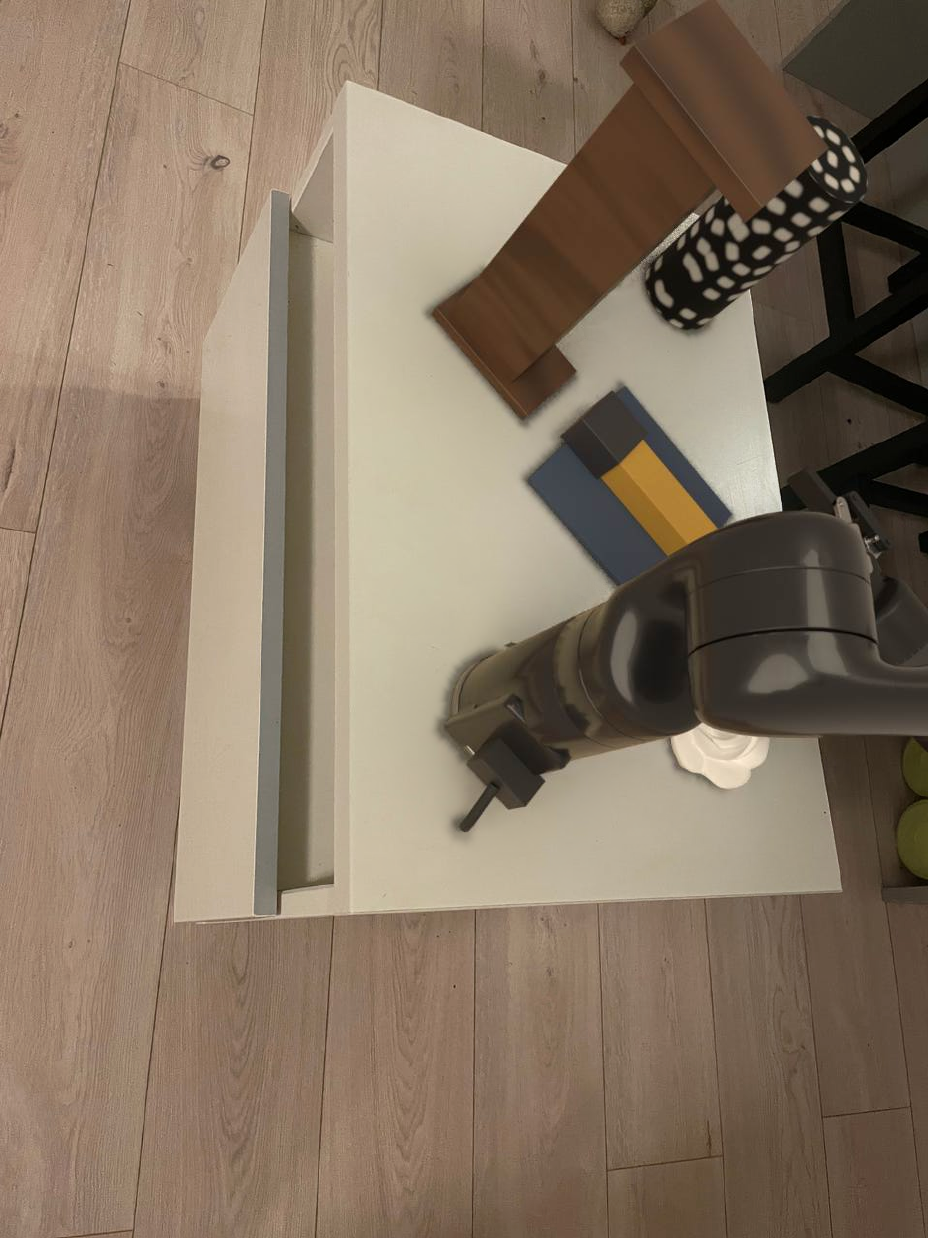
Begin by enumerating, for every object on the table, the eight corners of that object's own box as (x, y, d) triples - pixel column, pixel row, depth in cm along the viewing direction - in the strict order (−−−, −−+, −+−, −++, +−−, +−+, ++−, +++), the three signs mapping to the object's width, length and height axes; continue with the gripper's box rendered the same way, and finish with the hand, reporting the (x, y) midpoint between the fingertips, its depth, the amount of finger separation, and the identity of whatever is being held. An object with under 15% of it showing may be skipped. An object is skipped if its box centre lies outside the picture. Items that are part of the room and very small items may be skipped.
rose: (801, 774, 78) (717, 794, 74) (763, 780, 82) (681, 799, 78) (770, 660, 80) (686, 672, 76) (734, 671, 84) (652, 683, 79)
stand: (515, 426, 80) (762, 207, 55) (423, 318, 79) (633, 43, 54) (577, 371, 85) (829, 147, 60) (491, 268, 84) (713, -5, 59)
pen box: (703, 604, 84) (730, 593, 81) (559, 436, 81) (582, 418, 78) (728, 572, 86) (755, 560, 83) (589, 407, 84) (612, 389, 81)
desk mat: (645, 618, 81) (649, 616, 81) (526, 480, 79) (529, 477, 79) (728, 516, 89) (732, 513, 89) (621, 388, 87) (625, 385, 87)
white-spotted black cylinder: (706, 343, 94) (867, 219, 77) (641, 307, 91) (793, 170, 74) (712, 280, 98) (868, 148, 81) (649, 243, 95) (797, 98, 78)
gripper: (964, 582, 77) (845, 434, 75) (904, 696, 70) (770, 535, 68) (888, 607, 83) (776, 471, 81) (826, 714, 76) (701, 567, 74)
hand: (773, 500), depth 75 cm, fingers open, 8 cm apart
